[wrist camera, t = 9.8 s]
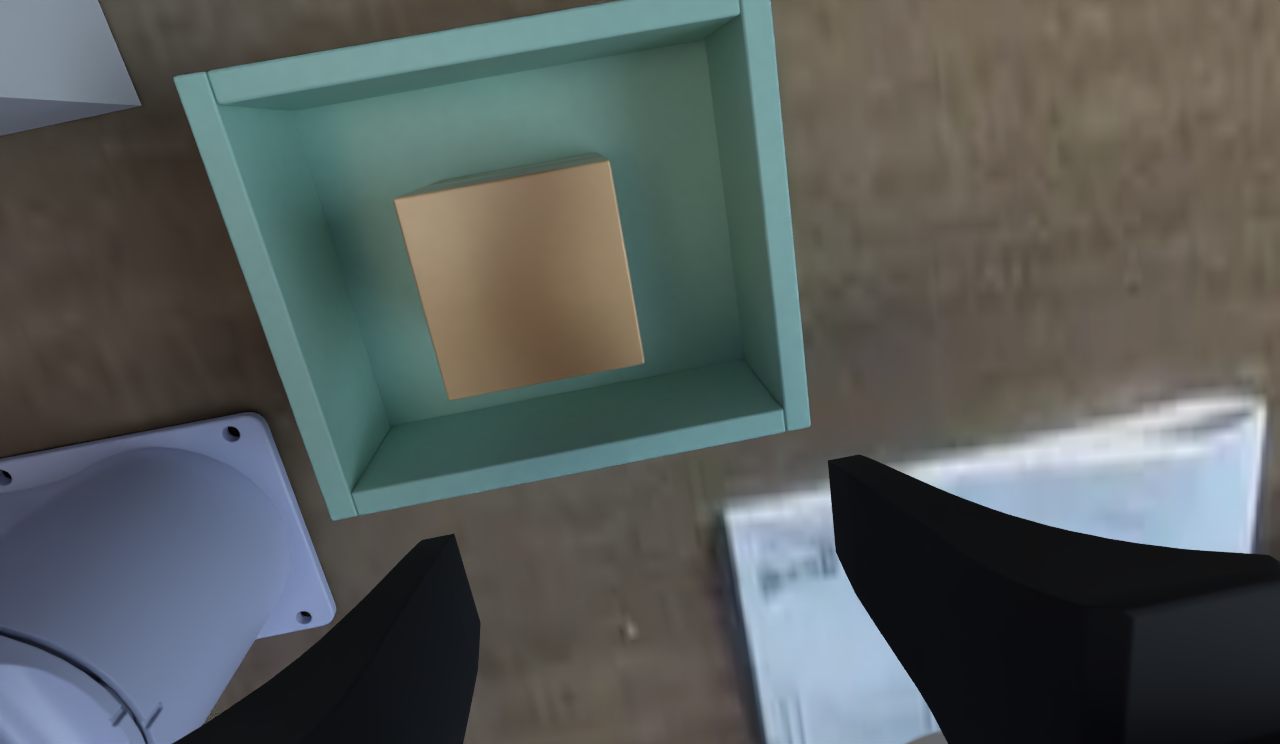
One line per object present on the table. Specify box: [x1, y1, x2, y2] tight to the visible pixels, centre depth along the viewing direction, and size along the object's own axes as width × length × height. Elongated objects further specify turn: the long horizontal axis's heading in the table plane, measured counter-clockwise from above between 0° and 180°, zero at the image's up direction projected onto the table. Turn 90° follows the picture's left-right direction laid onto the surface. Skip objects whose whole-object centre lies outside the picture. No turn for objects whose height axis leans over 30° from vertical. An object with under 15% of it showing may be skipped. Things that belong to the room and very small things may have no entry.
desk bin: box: [173, 0, 811, 521], centre depth 19 cm, size 13×11×5 cm
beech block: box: [393, 152, 645, 400], centre depth 18 cm, size 5×5×6 cm
